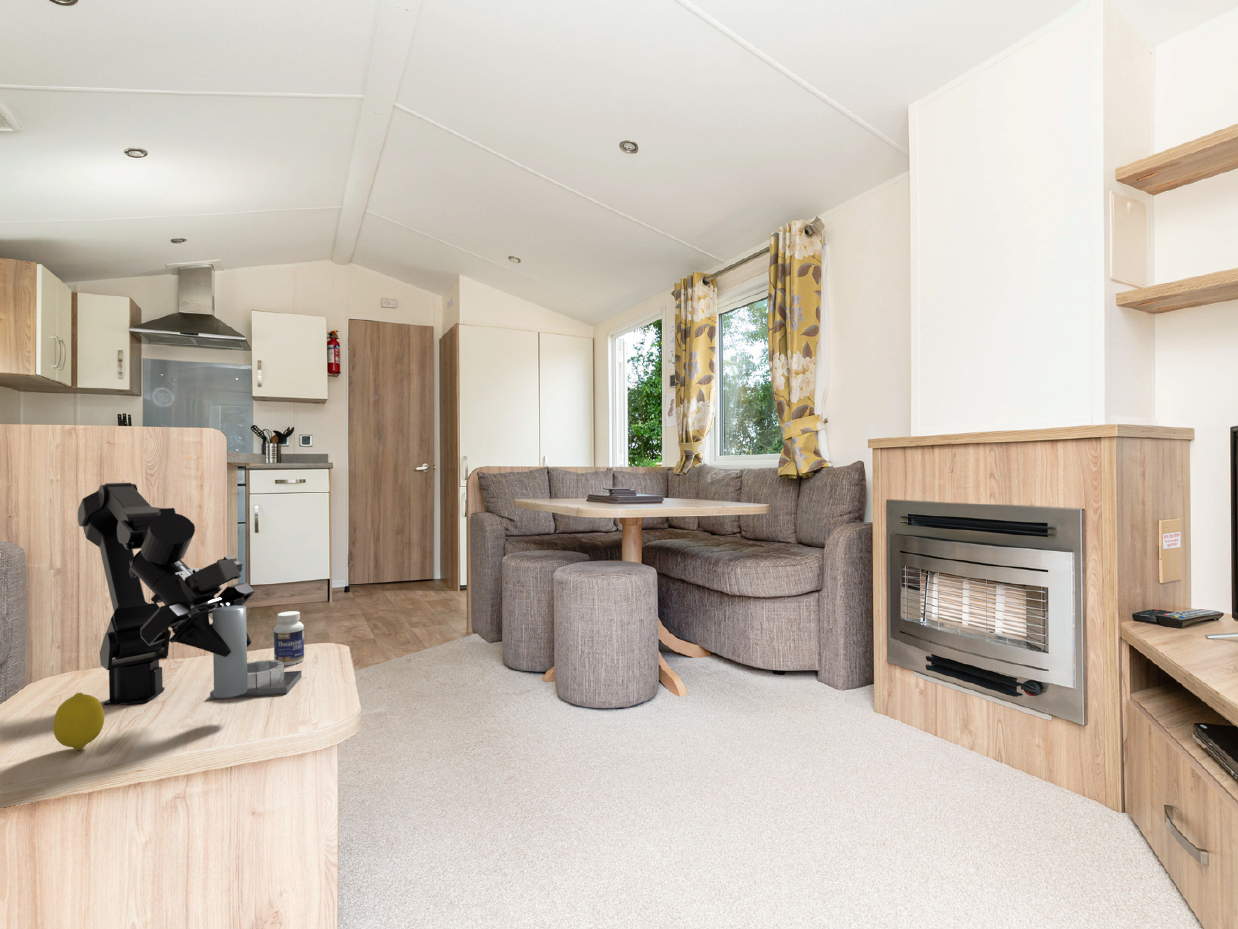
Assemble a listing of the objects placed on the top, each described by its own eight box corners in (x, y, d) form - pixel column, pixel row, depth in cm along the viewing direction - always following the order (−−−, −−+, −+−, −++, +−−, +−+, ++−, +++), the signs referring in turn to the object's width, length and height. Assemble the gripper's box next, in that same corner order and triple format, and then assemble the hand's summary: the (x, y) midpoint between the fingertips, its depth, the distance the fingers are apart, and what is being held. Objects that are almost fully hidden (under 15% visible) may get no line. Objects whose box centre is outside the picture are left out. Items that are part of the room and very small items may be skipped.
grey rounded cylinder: (209, 698, 101) (207, 612, 101) (221, 688, 105) (219, 606, 105) (241, 696, 102) (239, 611, 101) (252, 686, 106) (250, 604, 106)
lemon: (77, 760, 90) (75, 701, 90) (43, 757, 91) (41, 699, 91) (114, 742, 96) (113, 687, 96) (82, 740, 97) (81, 685, 97)
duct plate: (210, 699, 112) (209, 677, 112) (230, 682, 121) (230, 661, 121) (286, 694, 115) (286, 672, 115) (301, 677, 124) (301, 657, 123)
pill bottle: (275, 668, 129) (274, 617, 129) (273, 661, 134) (272, 612, 134) (305, 663, 132) (304, 614, 132) (303, 656, 137) (302, 609, 136)
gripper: (158, 550, 94) (234, 629, 93) (242, 534, 113) (306, 600, 112) (106, 605, 95) (181, 684, 94) (199, 581, 113) (262, 646, 113)
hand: (238, 650), depth 103 cm, fingers closed on grey rounded cylinder, 4 cm apart
